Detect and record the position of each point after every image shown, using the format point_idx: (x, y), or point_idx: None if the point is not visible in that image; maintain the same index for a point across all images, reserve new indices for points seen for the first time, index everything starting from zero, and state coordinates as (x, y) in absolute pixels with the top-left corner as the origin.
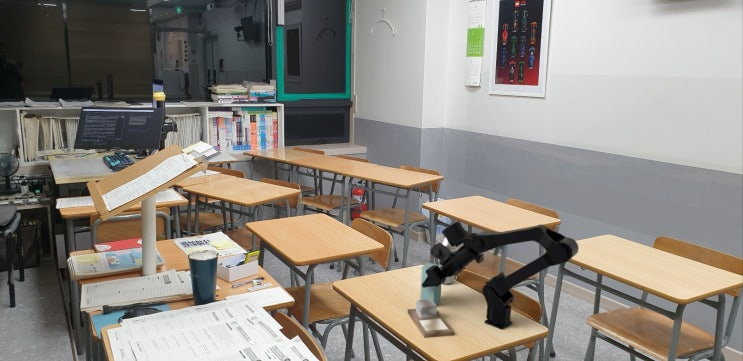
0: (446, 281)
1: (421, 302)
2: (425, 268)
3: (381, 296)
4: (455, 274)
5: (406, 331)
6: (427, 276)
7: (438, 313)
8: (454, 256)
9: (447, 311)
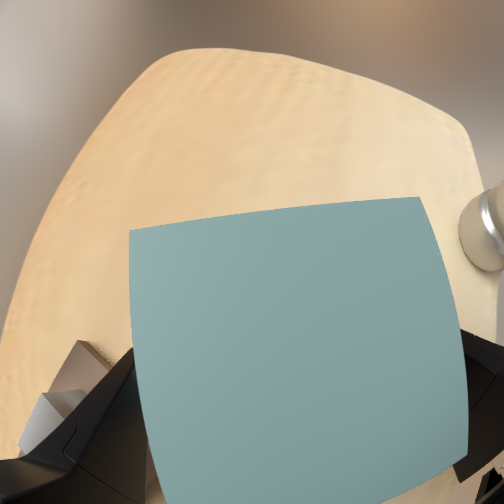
0: (475, 258)
1: (43, 428)
2: (135, 322)
3: (159, 155)
4: (464, 480)
5: (2, 411)
6: (29, 454)
7: (149, 481)
8: None
9: None
